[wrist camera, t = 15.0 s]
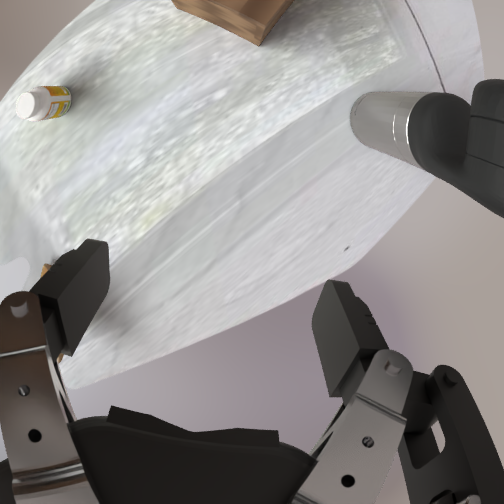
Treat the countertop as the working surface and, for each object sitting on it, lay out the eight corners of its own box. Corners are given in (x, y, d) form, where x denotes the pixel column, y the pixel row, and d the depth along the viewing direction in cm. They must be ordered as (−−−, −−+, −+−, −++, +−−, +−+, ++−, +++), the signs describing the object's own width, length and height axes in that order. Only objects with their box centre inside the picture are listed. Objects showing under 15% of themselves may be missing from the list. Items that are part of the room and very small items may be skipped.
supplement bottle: (46, 90, 35) (11, 93, 26) (71, 82, 35) (37, 82, 27) (48, 120, 38) (13, 128, 29) (73, 113, 38) (39, 119, 29)
